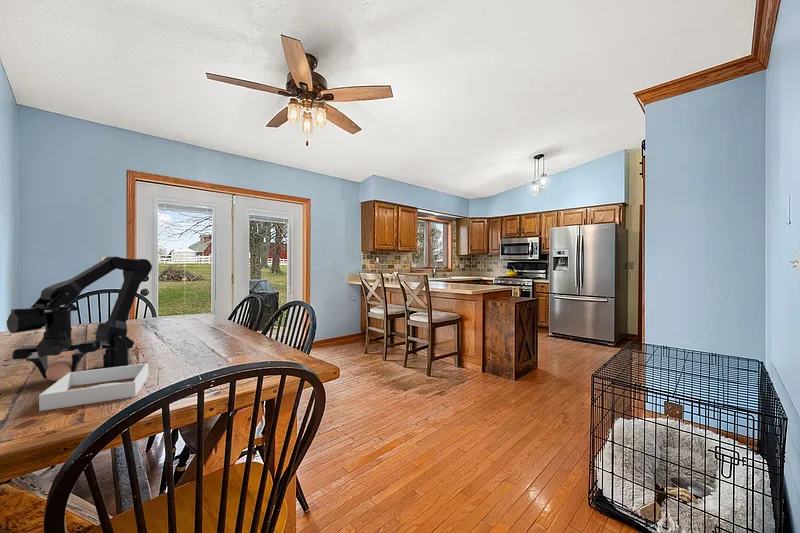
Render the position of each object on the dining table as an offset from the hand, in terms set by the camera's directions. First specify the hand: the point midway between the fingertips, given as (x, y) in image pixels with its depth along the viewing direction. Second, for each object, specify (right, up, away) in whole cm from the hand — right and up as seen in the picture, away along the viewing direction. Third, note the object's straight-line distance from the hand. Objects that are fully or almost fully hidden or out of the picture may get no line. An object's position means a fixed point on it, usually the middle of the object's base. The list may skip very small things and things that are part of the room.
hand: (59, 376), depth 106 cm
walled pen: (+20, -1, -8) cm, 22 cm away
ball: (0, -1, 0) cm, 1 cm away
